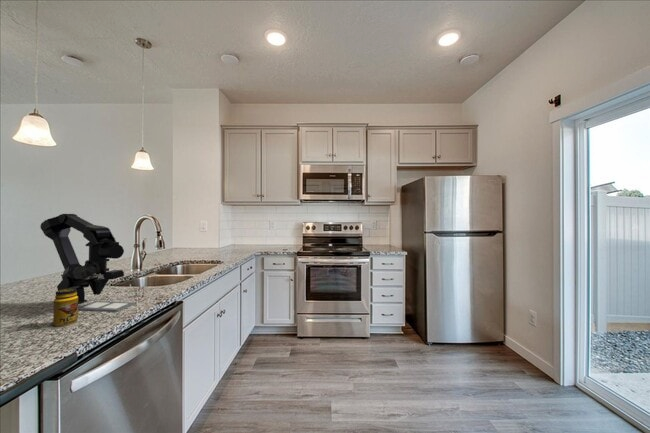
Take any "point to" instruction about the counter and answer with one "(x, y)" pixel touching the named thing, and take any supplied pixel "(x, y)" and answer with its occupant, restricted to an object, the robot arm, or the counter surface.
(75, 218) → the robot arm
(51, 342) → the counter surface
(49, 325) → the condiment
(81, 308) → the mat
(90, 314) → the counter surface
